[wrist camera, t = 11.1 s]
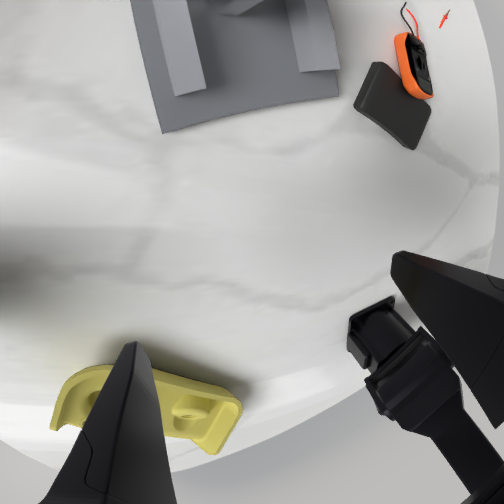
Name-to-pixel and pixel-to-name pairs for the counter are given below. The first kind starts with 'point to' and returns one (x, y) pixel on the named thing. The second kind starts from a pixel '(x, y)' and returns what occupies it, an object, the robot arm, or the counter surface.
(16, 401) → the counter surface
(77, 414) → the plastic component
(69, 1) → the counter surface
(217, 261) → the counter surface
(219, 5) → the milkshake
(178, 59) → the header socket
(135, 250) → the counter surface
